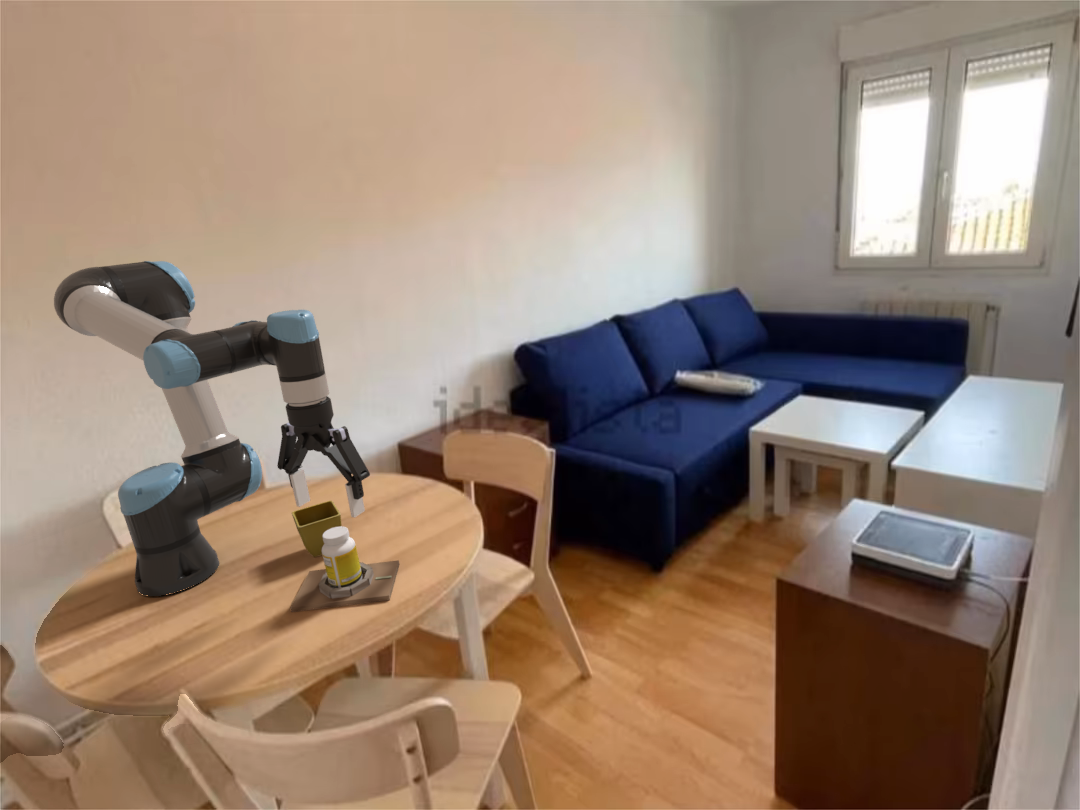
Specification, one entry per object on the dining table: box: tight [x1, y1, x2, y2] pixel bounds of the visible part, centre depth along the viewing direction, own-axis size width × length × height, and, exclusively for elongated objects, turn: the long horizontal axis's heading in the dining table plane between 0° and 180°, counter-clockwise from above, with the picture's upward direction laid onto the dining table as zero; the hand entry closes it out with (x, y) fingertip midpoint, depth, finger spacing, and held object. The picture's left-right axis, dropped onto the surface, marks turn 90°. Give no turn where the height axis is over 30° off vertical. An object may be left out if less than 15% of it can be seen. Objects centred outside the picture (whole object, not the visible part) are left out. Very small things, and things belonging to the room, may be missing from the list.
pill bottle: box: [321, 526, 362, 589], centre depth 113 cm, size 6×6×11 cm
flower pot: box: [291, 500, 342, 558], centre depth 129 cm, size 9×9×9 cm
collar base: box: [290, 559, 400, 613], centre depth 115 cm, size 18×12×2 cm, turn 94°
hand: (330, 508), depth 110 cm, fingers open, 13 cm apart
